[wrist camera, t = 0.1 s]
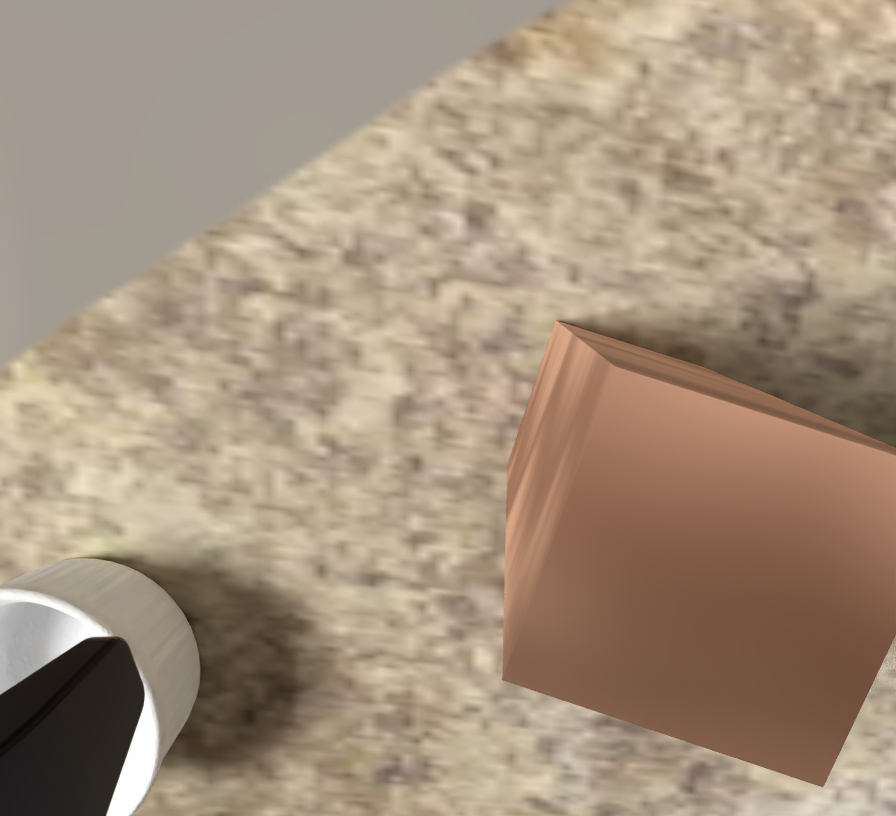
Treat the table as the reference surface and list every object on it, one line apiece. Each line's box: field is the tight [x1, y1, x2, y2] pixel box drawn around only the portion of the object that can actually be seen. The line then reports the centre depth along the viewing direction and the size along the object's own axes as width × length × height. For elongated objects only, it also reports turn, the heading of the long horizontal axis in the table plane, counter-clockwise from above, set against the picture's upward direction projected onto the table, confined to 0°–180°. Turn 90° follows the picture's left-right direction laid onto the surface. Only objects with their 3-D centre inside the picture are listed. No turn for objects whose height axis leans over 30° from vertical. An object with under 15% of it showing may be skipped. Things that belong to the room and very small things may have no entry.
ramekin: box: [0, 558, 200, 816], centre depth 24 cm, size 9×9×4 cm
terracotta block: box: [502, 321, 896, 787], centre depth 16 cm, size 5×5×13 cm
